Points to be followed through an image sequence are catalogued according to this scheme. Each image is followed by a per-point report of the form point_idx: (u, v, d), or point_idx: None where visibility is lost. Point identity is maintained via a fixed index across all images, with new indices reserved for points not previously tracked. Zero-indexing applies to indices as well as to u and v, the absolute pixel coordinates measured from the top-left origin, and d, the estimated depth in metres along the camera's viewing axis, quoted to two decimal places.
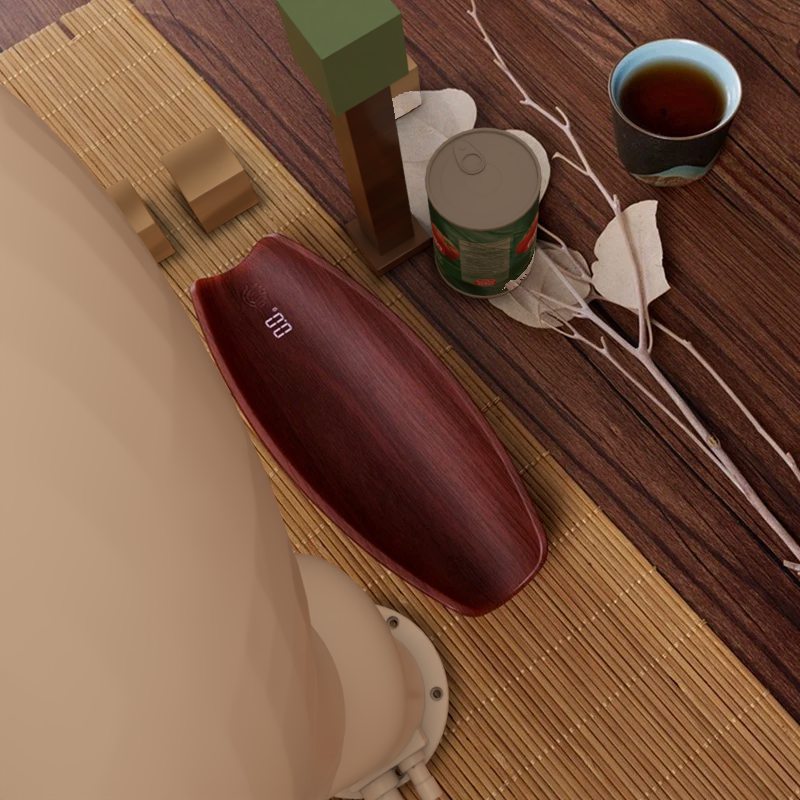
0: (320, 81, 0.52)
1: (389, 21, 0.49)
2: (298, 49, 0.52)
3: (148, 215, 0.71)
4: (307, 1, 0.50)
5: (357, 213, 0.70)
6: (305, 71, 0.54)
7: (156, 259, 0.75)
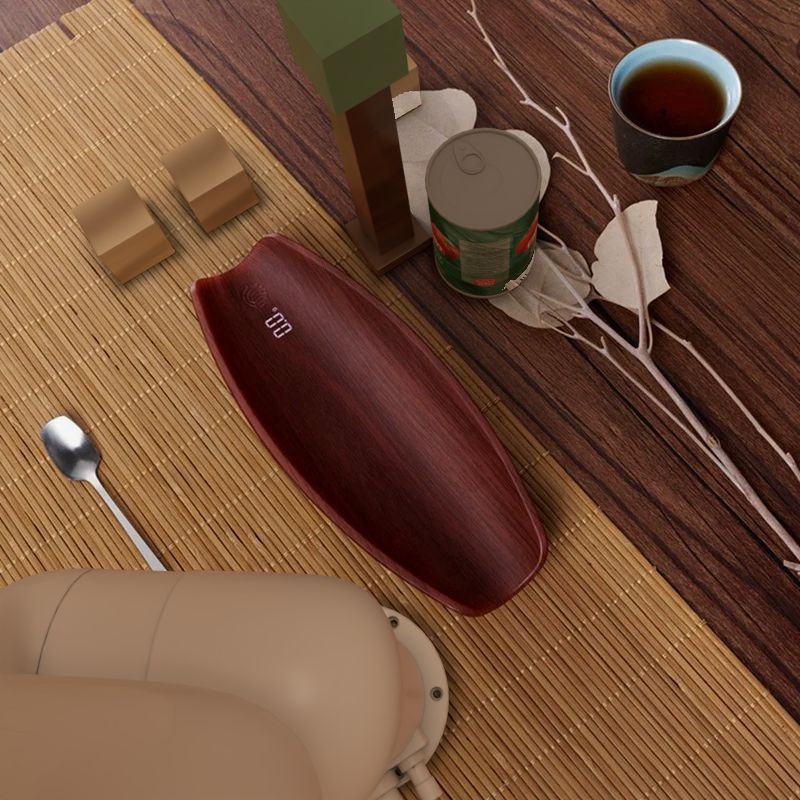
0: (320, 81, 0.52)
1: (389, 21, 0.49)
2: (298, 49, 0.52)
3: (148, 215, 0.71)
4: (307, 1, 0.50)
5: (357, 213, 0.70)
6: (305, 71, 0.54)
7: (156, 259, 0.75)
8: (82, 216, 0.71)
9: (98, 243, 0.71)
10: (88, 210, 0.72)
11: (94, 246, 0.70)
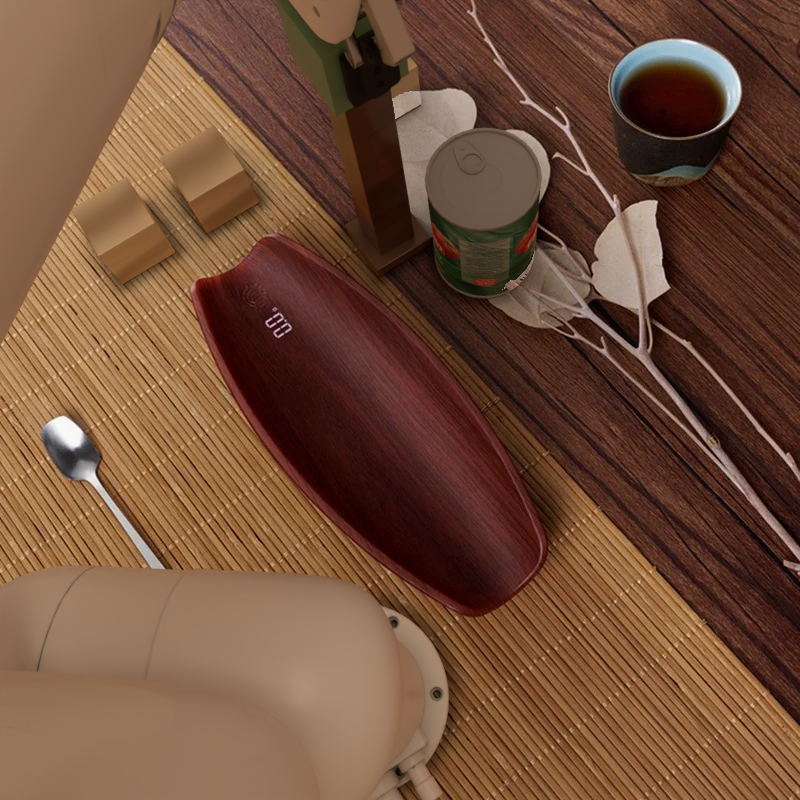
0: (320, 81, 0.52)
1: None
2: (298, 49, 0.52)
3: (148, 215, 0.71)
4: None
5: (357, 213, 0.70)
6: (305, 71, 0.54)
7: (156, 259, 0.75)
8: (82, 216, 0.71)
9: (98, 243, 0.71)
10: (88, 210, 0.72)
11: (94, 246, 0.70)
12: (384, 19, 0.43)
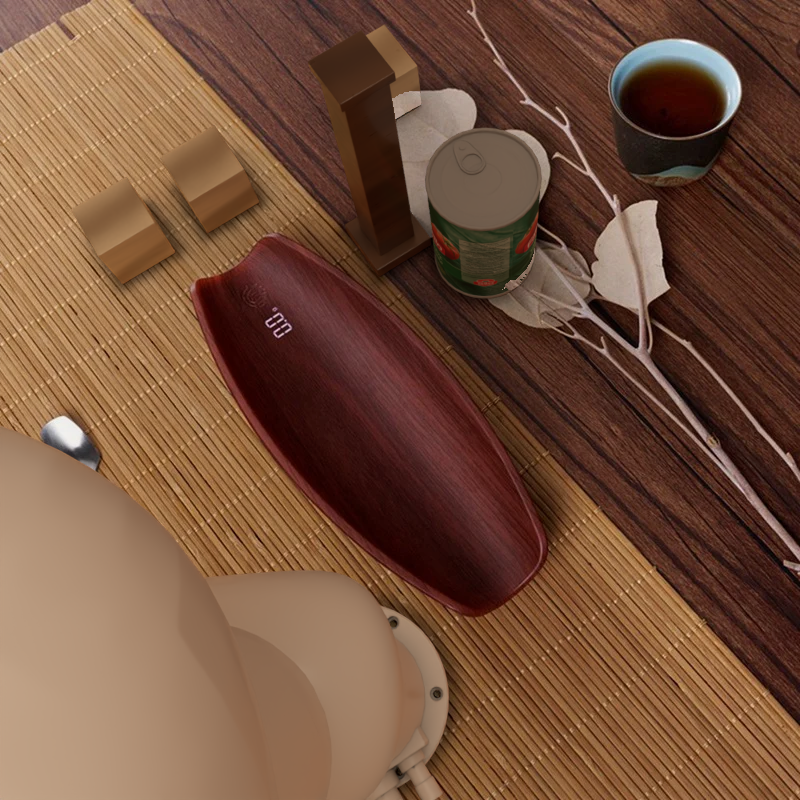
0: None
1: None
2: None
3: (148, 215, 0.71)
4: None
5: (357, 213, 0.70)
6: None
7: (156, 259, 0.75)
8: (82, 216, 0.71)
9: (98, 243, 0.71)
10: (88, 210, 0.72)
11: (94, 246, 0.70)
12: None
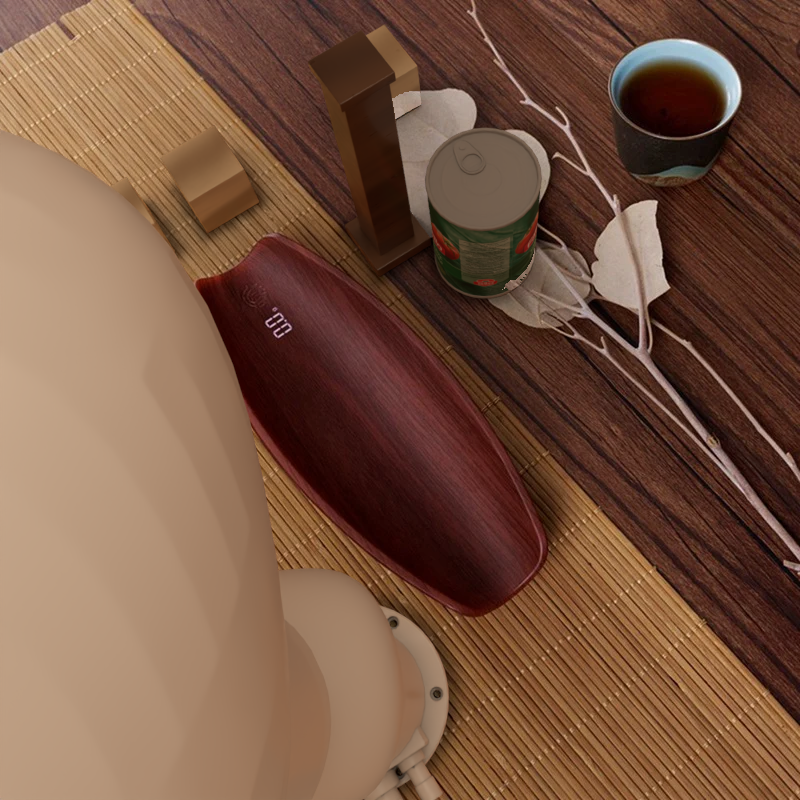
0: None
1: None
2: None
3: (148, 215, 0.71)
4: None
5: (357, 213, 0.70)
6: None
7: None
8: None
9: None
10: None
11: None
12: None
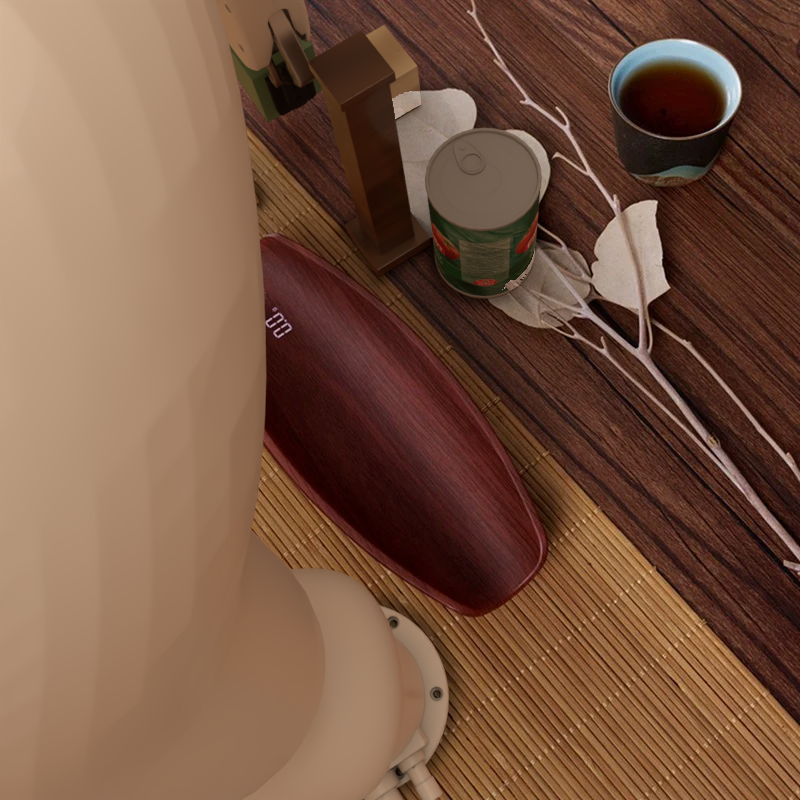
0: (254, 95, 0.67)
1: None
2: (237, 70, 0.68)
3: None
4: None
5: (357, 213, 0.70)
6: (244, 87, 0.69)
7: None
8: None
9: None
10: None
11: None
12: (291, 53, 0.59)
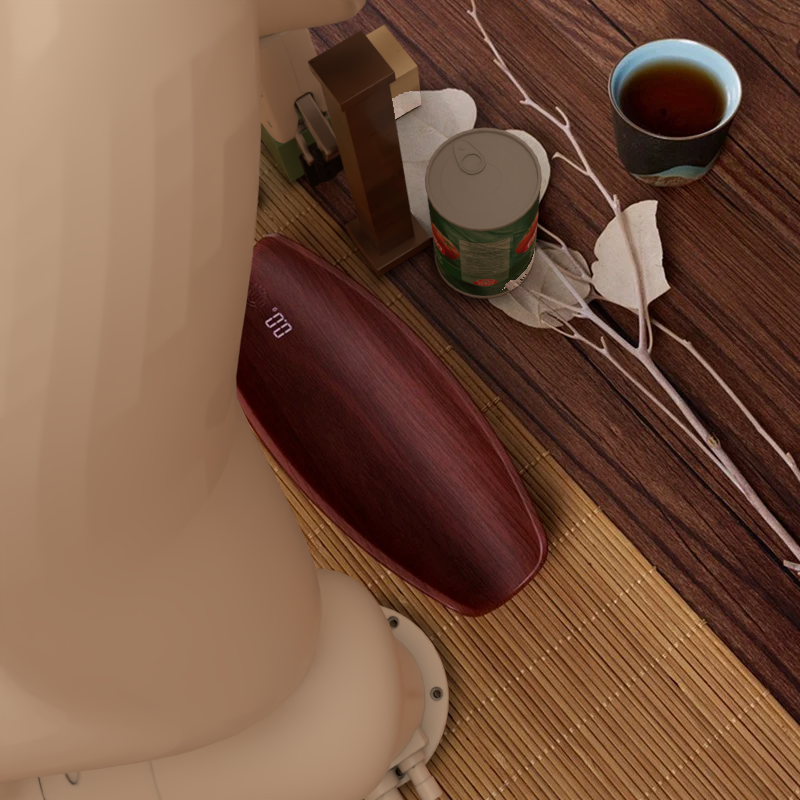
0: (278, 159, 0.75)
1: None
2: (264, 136, 0.75)
3: None
4: None
5: (357, 213, 0.70)
6: (269, 150, 0.77)
7: None
8: None
9: None
10: None
11: None
12: (315, 126, 0.65)
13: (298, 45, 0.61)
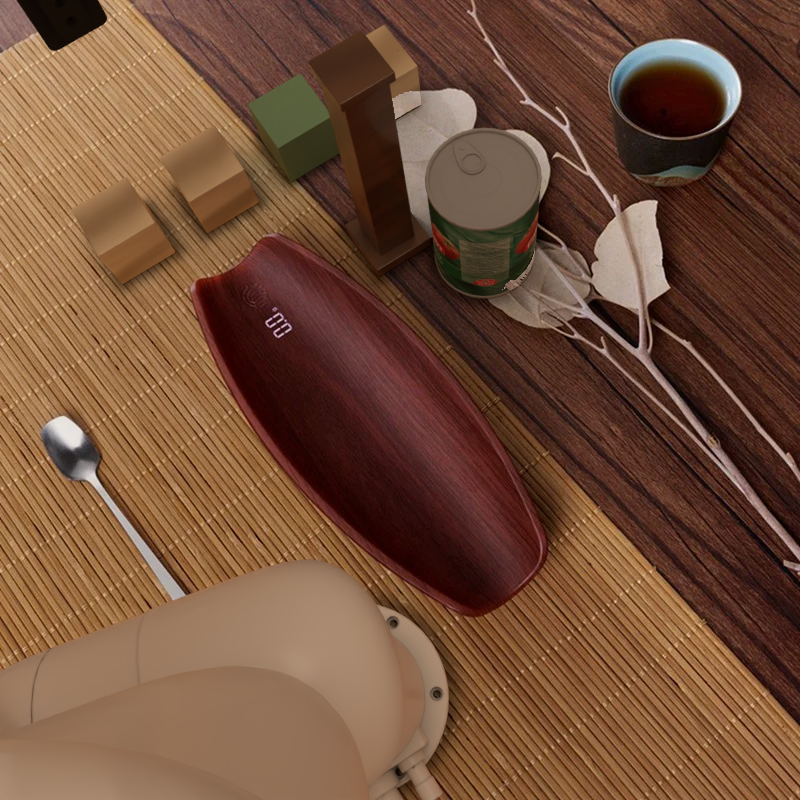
0: (279, 159, 0.75)
1: (324, 121, 0.72)
2: (264, 136, 0.75)
3: (148, 215, 0.71)
4: (269, 107, 0.73)
5: (357, 213, 0.70)
6: (269, 150, 0.77)
7: (156, 259, 0.75)
8: (82, 216, 0.71)
9: (98, 243, 0.71)
10: (88, 210, 0.72)
11: (94, 246, 0.70)
12: None
13: None
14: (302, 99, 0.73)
